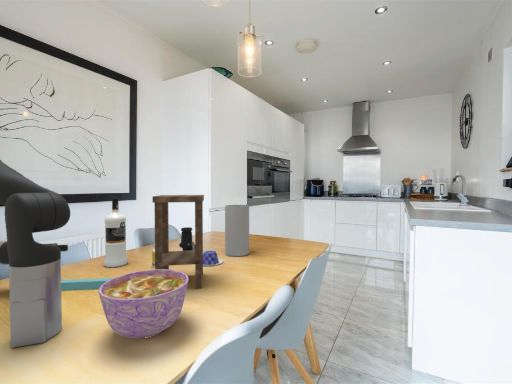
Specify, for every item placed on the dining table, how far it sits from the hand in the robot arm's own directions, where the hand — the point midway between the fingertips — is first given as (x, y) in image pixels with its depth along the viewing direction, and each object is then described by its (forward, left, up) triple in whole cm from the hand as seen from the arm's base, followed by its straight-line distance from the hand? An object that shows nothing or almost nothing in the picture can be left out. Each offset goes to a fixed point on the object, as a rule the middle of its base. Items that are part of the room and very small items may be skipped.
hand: (60, 250), depth 89 cm
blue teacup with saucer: (+14, -53, -14) cm, 56 cm away
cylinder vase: (+25, -69, -13) cm, 74 cm away
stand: (-7, -39, -13) cm, 42 cm away
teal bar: (-1, -5, -13) cm, 14 cm away
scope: (+30, -45, -13) cm, 56 cm away
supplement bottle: (+17, -31, -13) cm, 38 cm away
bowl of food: (-37, -29, -13) cm, 49 cm away
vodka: (+25, -13, -13) cm, 31 cm away
